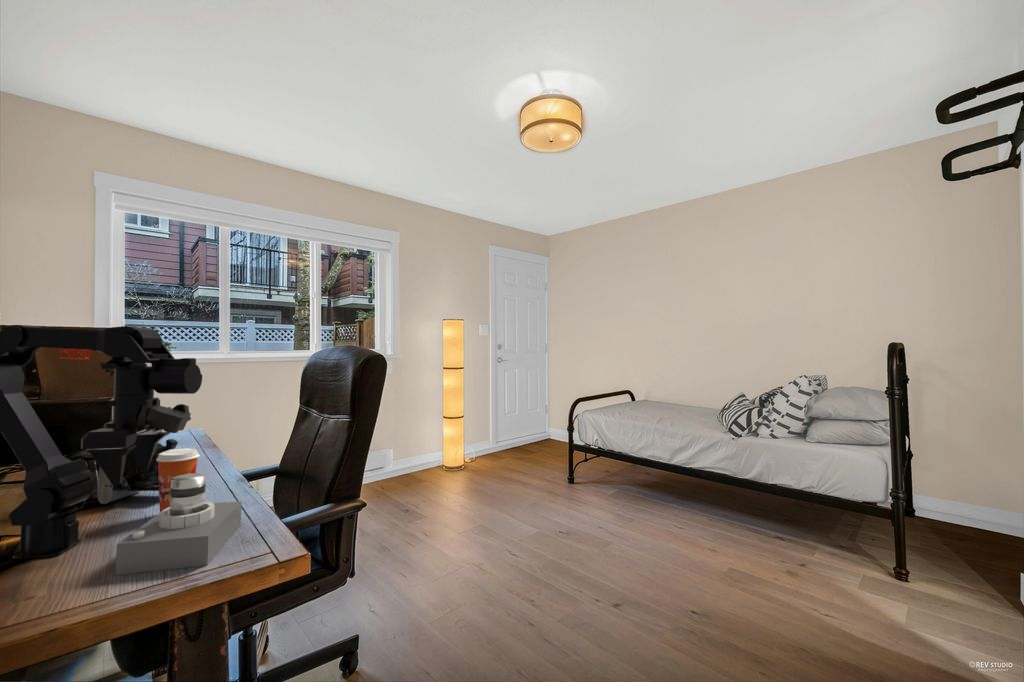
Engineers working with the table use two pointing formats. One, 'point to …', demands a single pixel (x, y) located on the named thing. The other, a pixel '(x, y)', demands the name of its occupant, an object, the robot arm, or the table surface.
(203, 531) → the camera body
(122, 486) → the vintage camera
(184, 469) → the paper cup
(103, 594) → the table surface
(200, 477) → the lens
